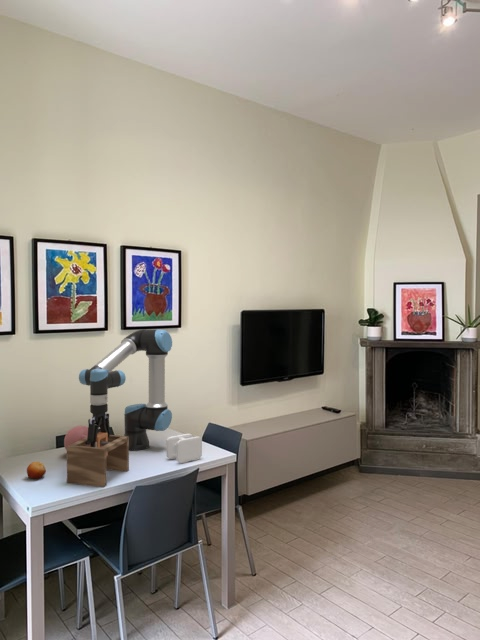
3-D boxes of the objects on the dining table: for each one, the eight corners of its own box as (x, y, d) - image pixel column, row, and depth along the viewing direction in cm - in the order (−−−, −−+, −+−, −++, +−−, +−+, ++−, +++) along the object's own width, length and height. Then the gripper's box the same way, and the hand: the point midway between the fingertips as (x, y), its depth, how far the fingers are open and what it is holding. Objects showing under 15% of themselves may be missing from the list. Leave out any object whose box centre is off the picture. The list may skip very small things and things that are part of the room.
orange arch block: (90, 460, 211) (90, 436, 211) (99, 454, 219) (99, 432, 218) (98, 460, 210) (98, 437, 210) (107, 455, 218) (107, 432, 217)
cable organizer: (176, 465, 230) (176, 441, 230) (165, 459, 239) (165, 436, 238) (202, 459, 240) (202, 436, 240) (190, 454, 248) (190, 432, 248)
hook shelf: (94, 466, 227) (94, 433, 227) (128, 470, 223) (128, 436, 222) (66, 482, 206) (66, 446, 206) (104, 487, 201) (103, 449, 201)
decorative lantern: (72, 465, 230) (72, 433, 230) (60, 455, 246) (59, 425, 246) (103, 459, 239) (103, 428, 239) (89, 449, 255) (89, 421, 255)
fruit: (26, 471, 216) (35, 456, 216) (41, 480, 216) (50, 465, 217) (19, 478, 208) (29, 462, 208) (35, 487, 208) (44, 471, 209)
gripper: (93, 408, 203) (93, 461, 203) (118, 399, 223) (118, 448, 223) (78, 407, 205) (78, 460, 205) (103, 399, 225) (103, 446, 225)
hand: (99, 453), depth 214 cm, fingers closed on orange arch block, 8 cm apart
